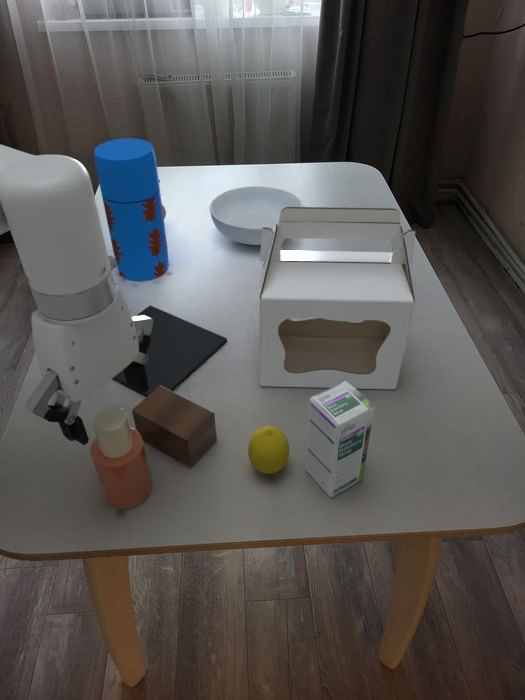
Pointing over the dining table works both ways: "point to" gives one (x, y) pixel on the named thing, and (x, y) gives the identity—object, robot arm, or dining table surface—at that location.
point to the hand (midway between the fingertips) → (109, 411)
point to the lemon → (268, 449)
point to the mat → (174, 350)
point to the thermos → (133, 207)
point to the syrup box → (338, 437)
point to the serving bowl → (250, 211)
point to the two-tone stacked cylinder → (120, 459)
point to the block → (175, 425)
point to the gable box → (335, 300)
